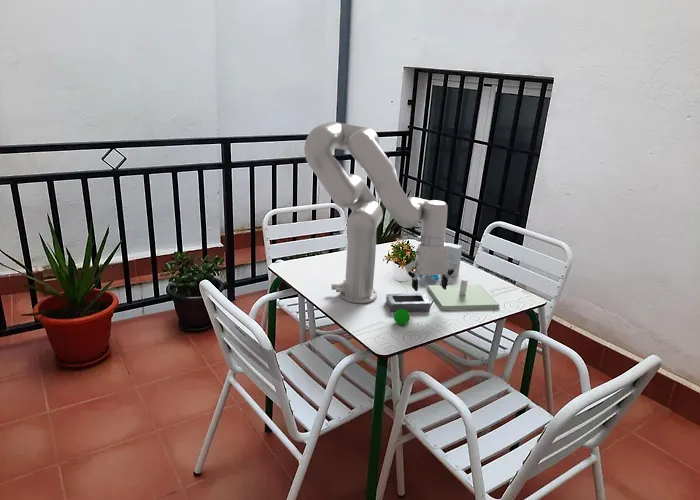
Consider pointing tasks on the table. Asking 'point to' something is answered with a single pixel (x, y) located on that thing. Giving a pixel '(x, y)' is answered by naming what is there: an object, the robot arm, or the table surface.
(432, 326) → the table surface
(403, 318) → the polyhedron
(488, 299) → the keeper board
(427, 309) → the grey hollow rectangular box
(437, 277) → the blue lumpy piece
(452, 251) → the skincare box
